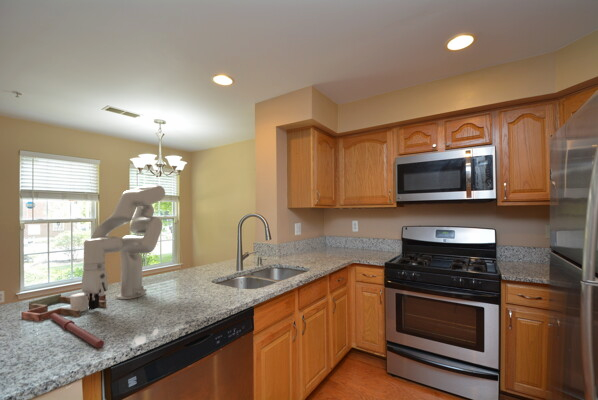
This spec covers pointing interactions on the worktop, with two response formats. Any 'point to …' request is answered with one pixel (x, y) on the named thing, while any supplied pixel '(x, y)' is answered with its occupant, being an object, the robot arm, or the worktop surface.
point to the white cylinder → (79, 301)
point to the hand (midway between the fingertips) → (93, 308)
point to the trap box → (40, 309)
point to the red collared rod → (77, 330)
